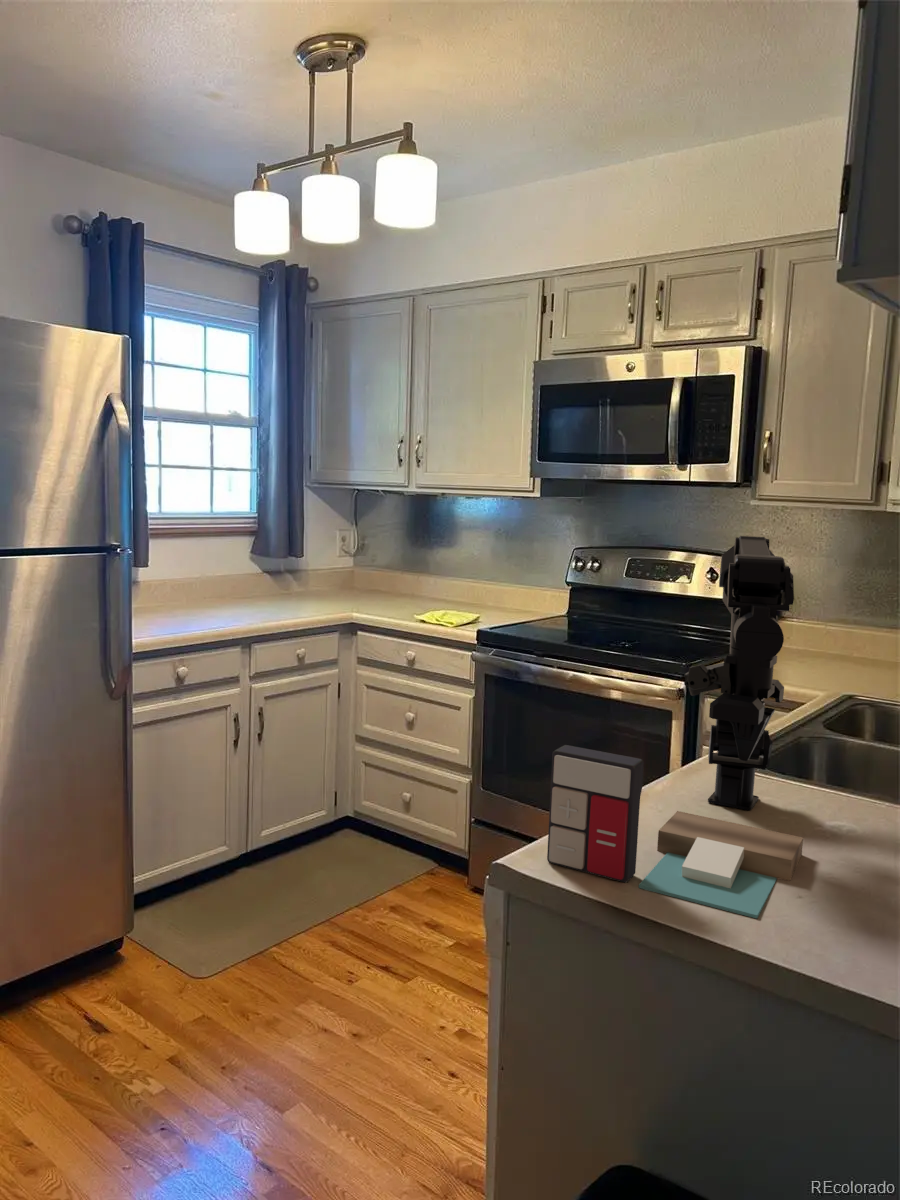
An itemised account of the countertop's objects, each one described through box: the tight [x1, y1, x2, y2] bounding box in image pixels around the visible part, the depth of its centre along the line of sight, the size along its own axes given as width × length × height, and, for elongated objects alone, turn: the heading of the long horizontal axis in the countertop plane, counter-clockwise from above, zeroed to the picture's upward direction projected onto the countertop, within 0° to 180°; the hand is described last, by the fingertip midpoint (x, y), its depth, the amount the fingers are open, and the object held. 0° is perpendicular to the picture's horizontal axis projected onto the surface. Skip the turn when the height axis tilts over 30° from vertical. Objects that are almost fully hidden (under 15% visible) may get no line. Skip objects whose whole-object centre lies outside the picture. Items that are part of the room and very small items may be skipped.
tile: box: [682, 837, 744, 888], centre depth 113 cm, size 7×6×2 cm
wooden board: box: [656, 810, 804, 882], centre depth 120 cm, size 9×17×3 cm, turn 60°
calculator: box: [546, 744, 645, 884], centre depth 113 cm, size 11×4×15 cm, turn 59°
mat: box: [638, 852, 778, 919], centre depth 111 cm, size 12×14×1 cm
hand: (743, 759), depth 123 cm, fingers closed
